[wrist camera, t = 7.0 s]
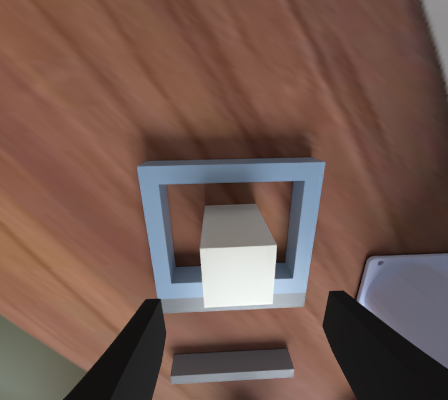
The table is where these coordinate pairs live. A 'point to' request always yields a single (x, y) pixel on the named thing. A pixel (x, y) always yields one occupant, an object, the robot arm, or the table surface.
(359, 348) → the robot arm
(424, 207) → the table surface
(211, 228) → the cream white block
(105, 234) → the table surface
